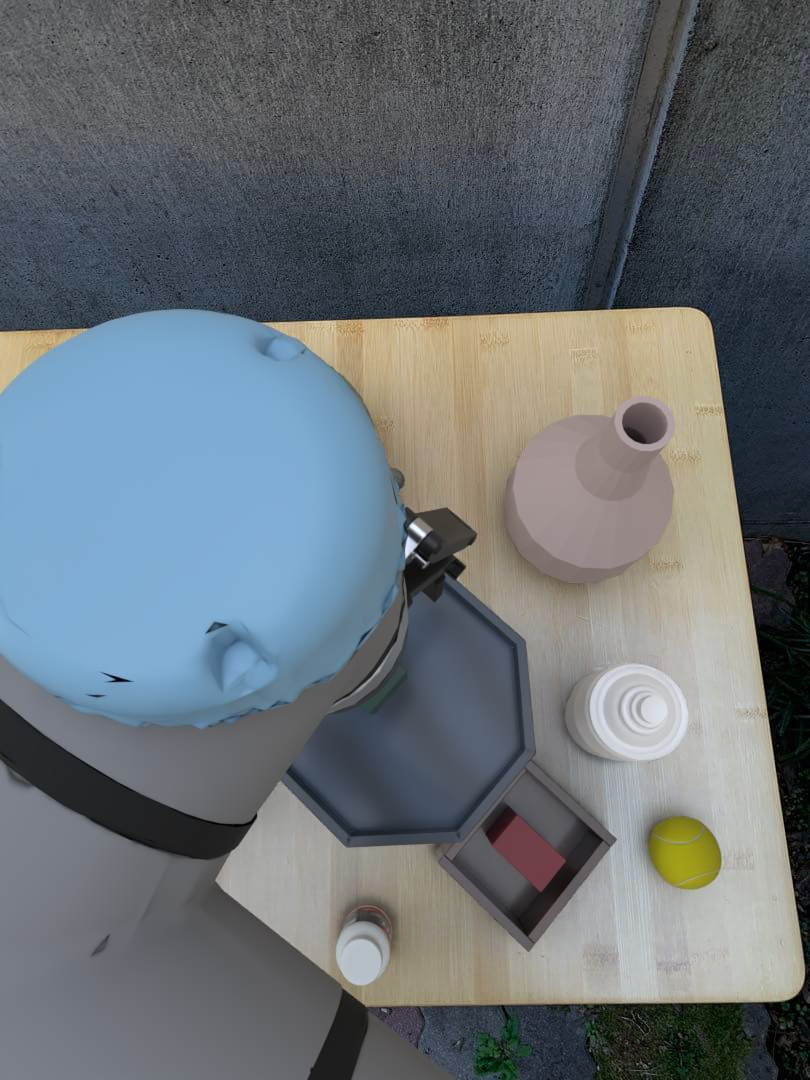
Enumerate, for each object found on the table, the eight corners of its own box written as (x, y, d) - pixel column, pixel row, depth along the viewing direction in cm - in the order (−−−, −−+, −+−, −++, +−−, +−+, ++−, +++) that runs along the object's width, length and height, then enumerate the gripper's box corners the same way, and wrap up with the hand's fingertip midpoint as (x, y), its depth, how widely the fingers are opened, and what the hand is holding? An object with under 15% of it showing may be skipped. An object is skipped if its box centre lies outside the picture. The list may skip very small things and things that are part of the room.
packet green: (374, 714, 55) (369, 713, 48) (318, 660, 56) (304, 652, 49) (408, 677, 56) (407, 671, 49) (351, 624, 57) (342, 611, 50)
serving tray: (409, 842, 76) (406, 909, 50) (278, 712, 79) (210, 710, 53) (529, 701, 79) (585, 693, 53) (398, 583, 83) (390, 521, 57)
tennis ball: (631, 822, 76) (652, 833, 69) (689, 804, 76) (716, 812, 69) (654, 888, 74) (678, 906, 67) (714, 869, 74) (744, 885, 68)
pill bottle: (402, 925, 74) (400, 955, 64) (373, 970, 72) (366, 1008, 63) (362, 893, 74) (354, 918, 65) (332, 937, 73) (320, 969, 64)
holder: (518, 931, 73) (528, 952, 67) (435, 849, 75) (437, 862, 69) (599, 828, 76) (617, 839, 69) (516, 752, 78) (526, 755, 71)
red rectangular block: (529, 876, 74) (541, 893, 67) (484, 834, 75) (491, 845, 68) (552, 847, 75) (566, 860, 68) (508, 805, 76) (517, 814, 69)
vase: (633, 459, 87) (742, 329, 58) (641, 595, 82) (764, 529, 53) (495, 455, 87) (535, 325, 58) (496, 591, 83) (539, 524, 54)
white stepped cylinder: (571, 783, 77) (642, 813, 53) (527, 696, 79) (576, 686, 55) (660, 738, 78) (770, 747, 54) (614, 653, 81) (699, 625, 56)
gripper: (453, 334, 28) (438, 494, 49) (-13, 800, 24) (184, 760, 45) (594, 447, 27) (517, 562, 48) (127, 961, 23) (264, 844, 43)
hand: (356, 658), depth 46 cm, fingers open, 13 cm apart
